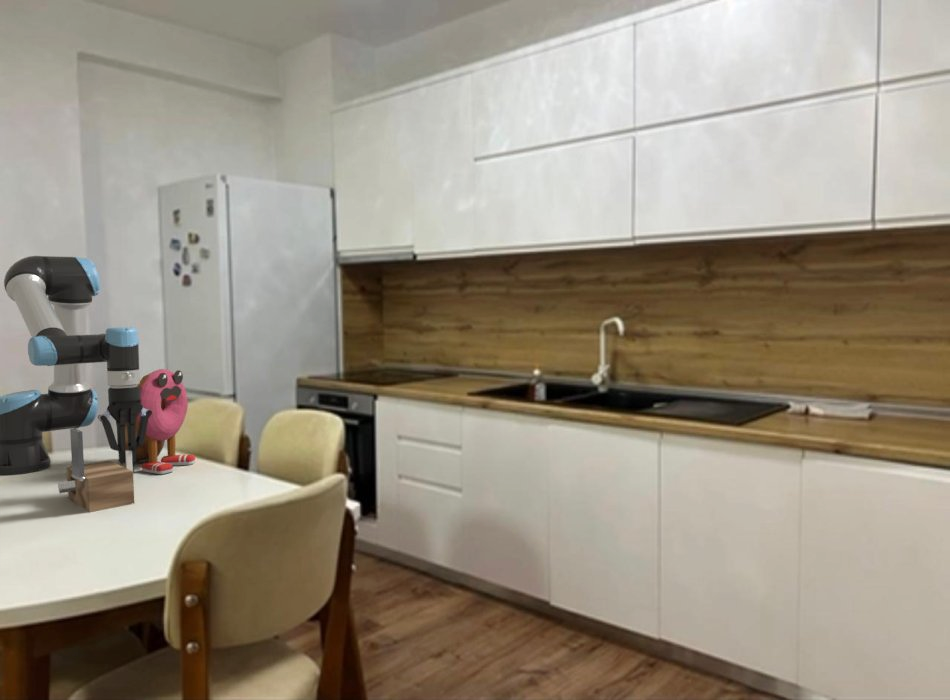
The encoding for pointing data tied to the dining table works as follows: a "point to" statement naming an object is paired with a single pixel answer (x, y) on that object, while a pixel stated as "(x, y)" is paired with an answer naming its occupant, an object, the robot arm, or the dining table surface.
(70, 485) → the pin
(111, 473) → the block
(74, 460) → the silver flat rectangular plate
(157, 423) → the toy
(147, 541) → the dining table surface
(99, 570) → the dining table surface
